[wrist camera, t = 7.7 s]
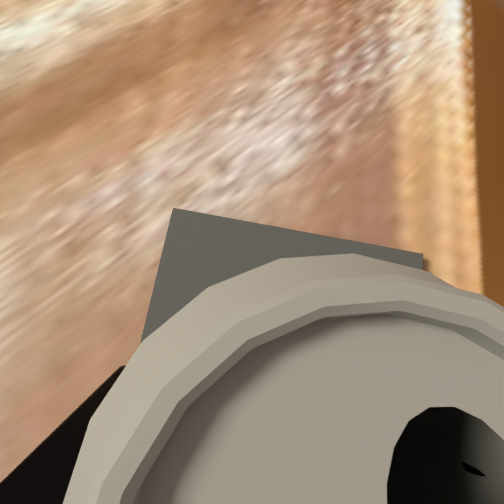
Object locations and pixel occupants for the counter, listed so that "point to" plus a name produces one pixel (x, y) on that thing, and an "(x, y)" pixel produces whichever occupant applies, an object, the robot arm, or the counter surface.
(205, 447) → the can
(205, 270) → the bar mat
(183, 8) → the counter surface
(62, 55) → the counter surface
